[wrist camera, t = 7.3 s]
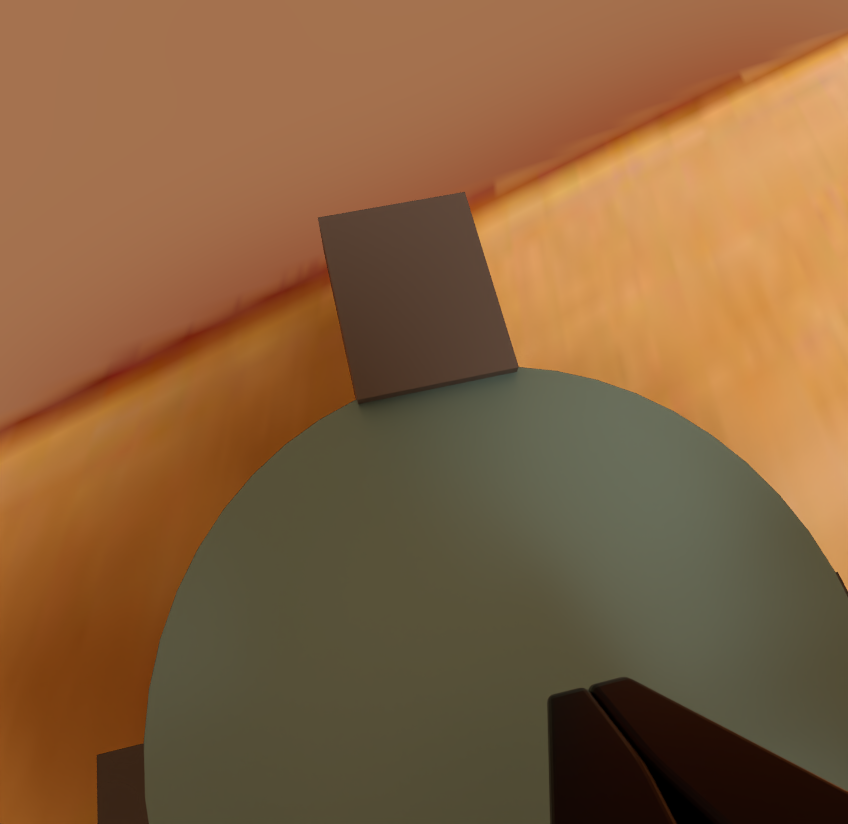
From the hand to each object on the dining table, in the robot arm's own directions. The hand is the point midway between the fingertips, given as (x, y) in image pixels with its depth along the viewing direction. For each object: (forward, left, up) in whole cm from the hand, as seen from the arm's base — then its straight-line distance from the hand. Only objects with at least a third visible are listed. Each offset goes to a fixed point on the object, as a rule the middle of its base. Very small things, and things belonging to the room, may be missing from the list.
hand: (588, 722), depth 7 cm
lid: (+2, +2, -5) cm, 6 cm away
